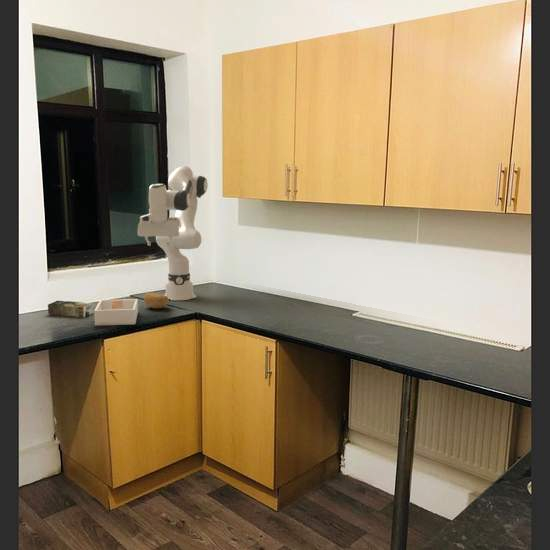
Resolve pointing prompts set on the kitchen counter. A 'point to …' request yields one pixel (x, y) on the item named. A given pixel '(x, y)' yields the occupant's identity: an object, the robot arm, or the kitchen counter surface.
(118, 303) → the wooden block
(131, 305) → the bin
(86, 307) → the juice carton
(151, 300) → the potato
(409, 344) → the kitchen counter surface
